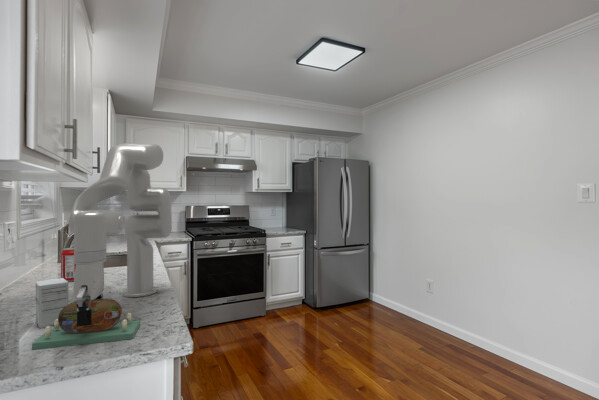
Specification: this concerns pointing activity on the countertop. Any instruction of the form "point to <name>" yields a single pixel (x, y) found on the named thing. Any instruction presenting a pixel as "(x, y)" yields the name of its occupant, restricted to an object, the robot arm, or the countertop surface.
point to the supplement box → (50, 300)
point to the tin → (102, 316)
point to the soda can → (68, 264)
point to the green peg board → (86, 335)
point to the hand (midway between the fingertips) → (90, 318)
